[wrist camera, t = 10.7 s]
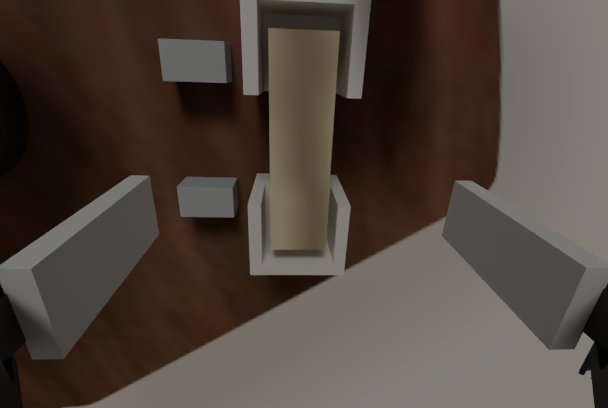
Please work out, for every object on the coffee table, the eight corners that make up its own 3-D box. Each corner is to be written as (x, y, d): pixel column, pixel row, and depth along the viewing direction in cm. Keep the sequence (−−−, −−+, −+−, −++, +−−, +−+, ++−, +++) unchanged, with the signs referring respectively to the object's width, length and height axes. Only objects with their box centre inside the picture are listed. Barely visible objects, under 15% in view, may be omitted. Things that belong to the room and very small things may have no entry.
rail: (273, 222, 30) (270, 249, 26) (272, 36, 24) (268, 27, 20) (319, 223, 31) (325, 249, 26) (330, 38, 24) (339, 30, 20)
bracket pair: (258, 230, 34) (250, 274, 27) (253, 4, 26) (239, -22, 19) (331, 231, 35) (343, 275, 27) (349, 9, 26) (372, -15, 19)
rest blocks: (189, 204, 33) (180, 216, 30) (171, 41, 27) (157, 38, 24) (238, 205, 33) (234, 217, 30) (230, 44, 27) (224, 41, 24)
